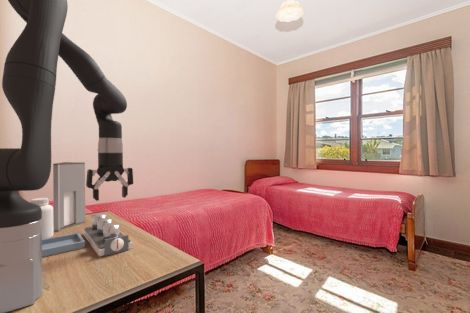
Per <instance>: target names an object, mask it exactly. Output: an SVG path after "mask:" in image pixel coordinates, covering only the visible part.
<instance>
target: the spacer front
mask: <svg viewBox="0 0 470 313" xmlns="http://www.w3.org/2000/svg"><path fill="white" fill-rule="evenodd" d="M119 232H120V223H119V222H118V223H117V222H112V223H110V224H106V225H104V226H103V242H104V240H105V239H109V238H114V237H119Z"/></svg>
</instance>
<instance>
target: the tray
mask: <svg viewBox="0 0 470 313" xmlns="http://www.w3.org/2000/svg"><path fill="white" fill-rule="evenodd" d="M85 248H86V241H85V239H84V238H83V236H82V235H81V233H80V232H76V233H70V234H69V233H68V234H64V235H59V236H52V237H51V238H47V239H42V258H45V257H49V256H54V255H55V256H56V255H58V254H59V255H60V254H63V253H67V252H68V253H69V252H73V251H76V250H77V251H78V250H81V249H85Z"/></svg>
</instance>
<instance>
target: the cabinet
mask: <svg viewBox="0 0 470 313" xmlns="http://www.w3.org/2000/svg"><path fill="white" fill-rule="evenodd" d="M52 164H53V165H52V176H53V177H52V178H53V179H52V180H53V181H52V183H53V185H52V188H53V193H52V194H53V227H54V233H57V232H60V231H61V230H64V229H67V228H71V227H75V226H77V225H81V224H84V223H86V163H85V162H84V161H83V162H80V161H79V162H71V161H70V162H69V161H64V162H56V163H52Z"/></svg>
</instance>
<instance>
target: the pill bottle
mask: <svg viewBox="0 0 470 313" xmlns="http://www.w3.org/2000/svg"><path fill="white" fill-rule="evenodd" d="M29 202H31V203H33V204H36V205H38V206H40V207H41V210H42V239H47V238H52V237H54V233H55V232H54V206H53V205H51V204H49V203H50V200H49V198H48V197H37V198H32V199H30V201H29Z"/></svg>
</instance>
